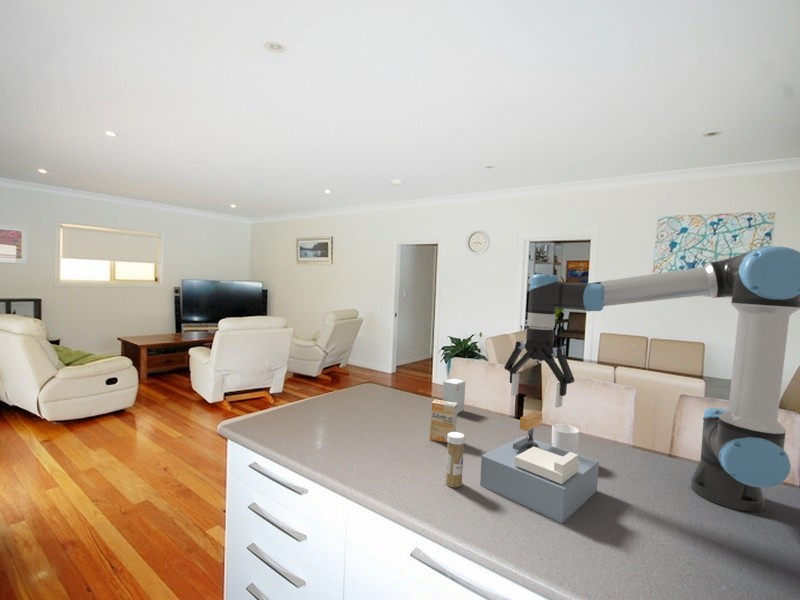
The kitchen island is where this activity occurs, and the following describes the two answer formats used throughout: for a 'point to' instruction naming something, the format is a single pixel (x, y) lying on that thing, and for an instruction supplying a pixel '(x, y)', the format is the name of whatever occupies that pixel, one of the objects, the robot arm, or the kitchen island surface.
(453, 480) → the sprinkles bottle
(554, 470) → the cover
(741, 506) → the robot arm
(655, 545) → the kitchen island surface
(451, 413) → the supplement box
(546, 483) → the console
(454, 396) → the small box
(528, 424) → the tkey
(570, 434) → the white cup
